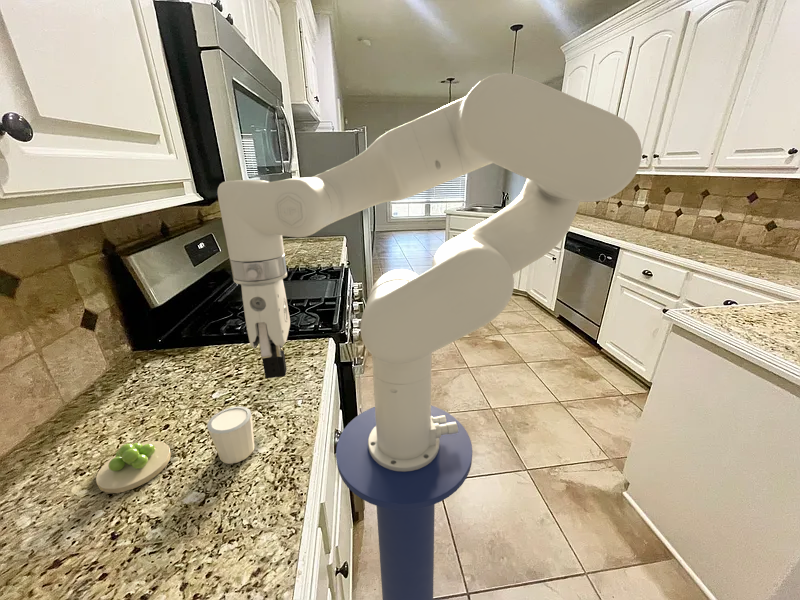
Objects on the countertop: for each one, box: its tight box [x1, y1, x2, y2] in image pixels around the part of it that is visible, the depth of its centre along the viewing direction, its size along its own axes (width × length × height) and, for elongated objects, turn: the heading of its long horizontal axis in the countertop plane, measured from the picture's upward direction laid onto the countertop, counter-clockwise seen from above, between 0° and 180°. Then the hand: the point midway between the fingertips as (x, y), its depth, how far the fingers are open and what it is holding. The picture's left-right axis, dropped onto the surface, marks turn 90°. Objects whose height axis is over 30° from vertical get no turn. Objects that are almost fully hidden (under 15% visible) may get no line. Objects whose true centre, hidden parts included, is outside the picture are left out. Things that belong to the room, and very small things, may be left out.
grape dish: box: [95, 440, 172, 494], centre depth 57 cm, size 10×10×5 cm
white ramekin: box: [206, 405, 255, 465], centre depth 59 cm, size 7×7×7 cm
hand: (276, 374), depth 57 cm, fingers closed
